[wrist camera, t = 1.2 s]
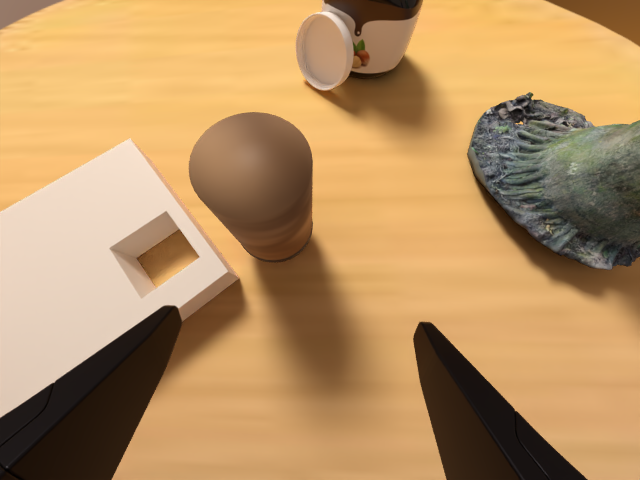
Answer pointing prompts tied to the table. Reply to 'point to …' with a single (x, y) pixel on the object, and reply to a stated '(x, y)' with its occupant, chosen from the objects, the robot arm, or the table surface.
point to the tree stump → (563, 178)
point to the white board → (91, 267)
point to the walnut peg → (257, 182)
